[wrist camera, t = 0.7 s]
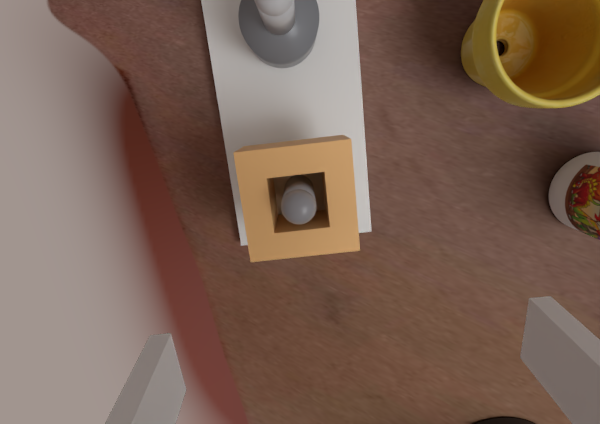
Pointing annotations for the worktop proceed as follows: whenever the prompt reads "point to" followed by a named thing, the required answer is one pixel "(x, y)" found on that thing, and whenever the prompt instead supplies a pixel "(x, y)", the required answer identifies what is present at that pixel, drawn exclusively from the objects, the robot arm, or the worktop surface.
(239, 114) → the assembly board
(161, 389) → the robot arm
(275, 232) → the collar
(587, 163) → the milk bottle
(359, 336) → the worktop surface
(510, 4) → the plant pot
